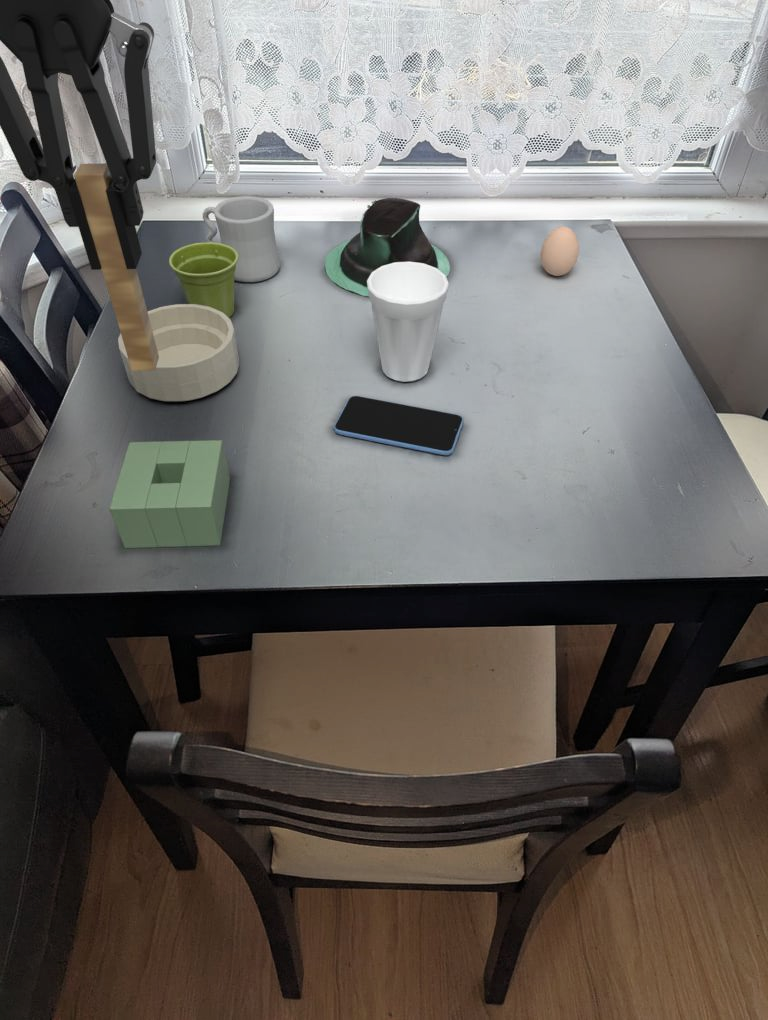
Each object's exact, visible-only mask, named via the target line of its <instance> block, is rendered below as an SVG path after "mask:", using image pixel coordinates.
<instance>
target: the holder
mask: <svg viewBox="0 0 768 1020" xmlns="http://www.w3.org/2000/svg"><path fill="white" fill-rule="evenodd" d="M223 443H224V442H223V440H222V439H215V440H168V441H130V442H129V443H128V445H127V449H126V451H125V452H126V453H125V455H124V459H123V462H122V466H121V469H120V472H119V476H118V479H117V483H116V486H115V489H114V492H113V495H112V499H111V502H110V506H109V512H110V515H111V517H112V520H113V522H114V525H115V528H116V530H117V532H118V535H119V538H120V540H121V543H122V545H123V548H124V549H139V548H141V549H144V548H175V547H176V548H177V547H181V548H182V547H207V546H208V547H209V546H210V547H212V546H213V547H214V546H221V543H222V537H223V530H224V524H225V517H226V516H225V515H226V510H227V504H228V498H229V497H228V496H229V490H230V483H231V476H230V471H229V467H228V462H227V458H226V453H225V447H224V444H223Z"/></svg>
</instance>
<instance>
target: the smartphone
mask: <svg viewBox="0 0 768 1020" xmlns="http://www.w3.org/2000/svg"><path fill="white" fill-rule="evenodd" d="M463 426H464V417H462V416H461V415H459V414H455V413H450V412H445V411H440V410H435V409H429V408H425V407H419V406H418V407H417V406H413V405H408V404H402V403H397V402H392V401H386V400H381V399H377V398H370V397H365V396H360V395H352V396H349V398H348V399H347V400H346V402H345V404H344V406H343V408H342V409H341V412H340V414H339V416H338V417H337V419H336V421H335V423H334V426H333V430H334V433H336V434H337V435H341V436H345V437H351V438H355V439H360V440H366V441H369V442H374V443H375V442H376V443H381V444H386V445H391V446H396V447H402V448H405V449H411V450H414V451H415V450H416V451H420V452H425V453H431V454H436V455H441V456H449V455H451V454H453V452H454V450H455V448H456V445H457V442H458V440H459V437H460V435H461V431H462V428H463Z"/></svg>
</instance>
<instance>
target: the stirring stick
mask: <svg viewBox="0 0 768 1020" xmlns="http://www.w3.org/2000/svg"><path fill="white" fill-rule="evenodd" d="M73 177H74V179H75V180H76V184H77V187H78V190H79V194H80V197H81V200H82V204H83V207H84V210H85V214H86V217H87V221H88V224H89V227H90V231H91V234H92V237H93V241H94V244H95V248H96V251H97V254H98V258H99V261H100V265H101V271H102V275H103V278H104V282H105V285H106V288H107V292H108V295H109V298H110V302H111V305H112V309H113V311H114V316H115V318H116V322H117V325H118V329H119V332H120V333H121V336H122V339H123V342H124V346H125V349H126V352H127V356H128V359H129V363H130V366H131V369H132V371H143V370H155V369H156V366H157V362H158V359H159V355H158V351H157V347H156V343H155V339H154V335H153V332H152V328H151V324H150V320H149V316H148V312H147V311H148V309H147V305H146V301H145V298H144V293H143V290H142V286H141V282H140V279H139V273H138V271H137V268H136V269H127V268H126V264H125V260H124V257H123V253H122V249H121V246H120V242H119V238H118V234H117V231H116V227H115V223H114V220H113V216H112V212H111V208H110V205H109V201H108V197H107V194H106V189H107V188H108V186H109V184H110V182H111V180H112V177H111V174H110V171H109V168H108V166H107V163H106V162H105V163H103V162H102V163H80V164H79V166H78V167H77V168H76V170H75V172H74V173H73Z"/></svg>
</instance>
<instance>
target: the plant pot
mask: <svg viewBox="0 0 768 1020" xmlns="http://www.w3.org/2000/svg"><path fill="white" fill-rule="evenodd" d="M213 242H214V241H213ZM213 242H212V243H211V242H207V241H206V242H196V243H191V244H188V245H185V246H181V247H180V248H178V249H176V250H174V251H173V253H172V254H170V256H169V259H168V262H169V265H170V268H171V269H172V270H173V271H174V273H175V275H176V277H177V278H178V279H179V282H180V285H181V287H182V290H183V292H184V295H185V299H186V302H187V304H197V305H203V306H208V307H211V308H214V309H216V310H218V311H221V312H223V313H224V314H225V315H226V316H227V317H228V318H229V319H231V317H232V316H233V315H234V312H235V280H234V272H235V270H236V263H237V261H238V254H237V252H236V251H235V250H234V249H233V248H232V247H230V246H227V245H224V244H221V242H220V243H219V242H214V243H213Z"/></svg>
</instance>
